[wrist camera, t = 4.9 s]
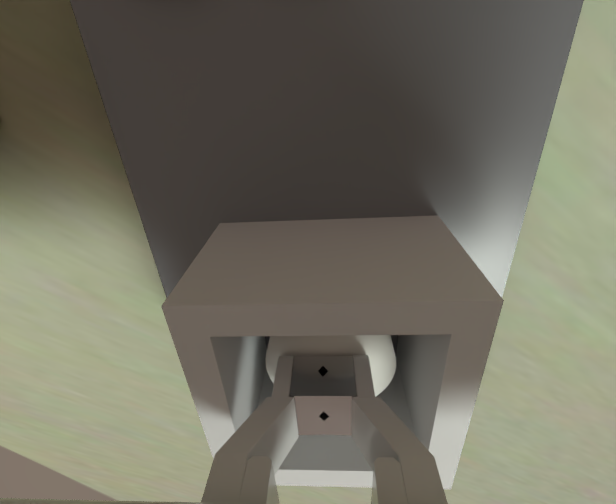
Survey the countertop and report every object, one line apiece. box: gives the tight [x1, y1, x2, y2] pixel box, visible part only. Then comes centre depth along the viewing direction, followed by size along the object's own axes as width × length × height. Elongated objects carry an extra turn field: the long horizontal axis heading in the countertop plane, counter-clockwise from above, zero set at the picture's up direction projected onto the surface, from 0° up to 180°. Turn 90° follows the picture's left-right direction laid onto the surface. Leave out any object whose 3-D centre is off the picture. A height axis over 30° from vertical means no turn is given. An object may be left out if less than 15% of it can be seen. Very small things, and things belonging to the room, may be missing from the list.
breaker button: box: [265, 335, 396, 397], centre depth 12 cm, size 4×4×2 cm
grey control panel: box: [70, 0, 584, 489], centre depth 10 cm, size 14×24×6 cm, turn 3°
